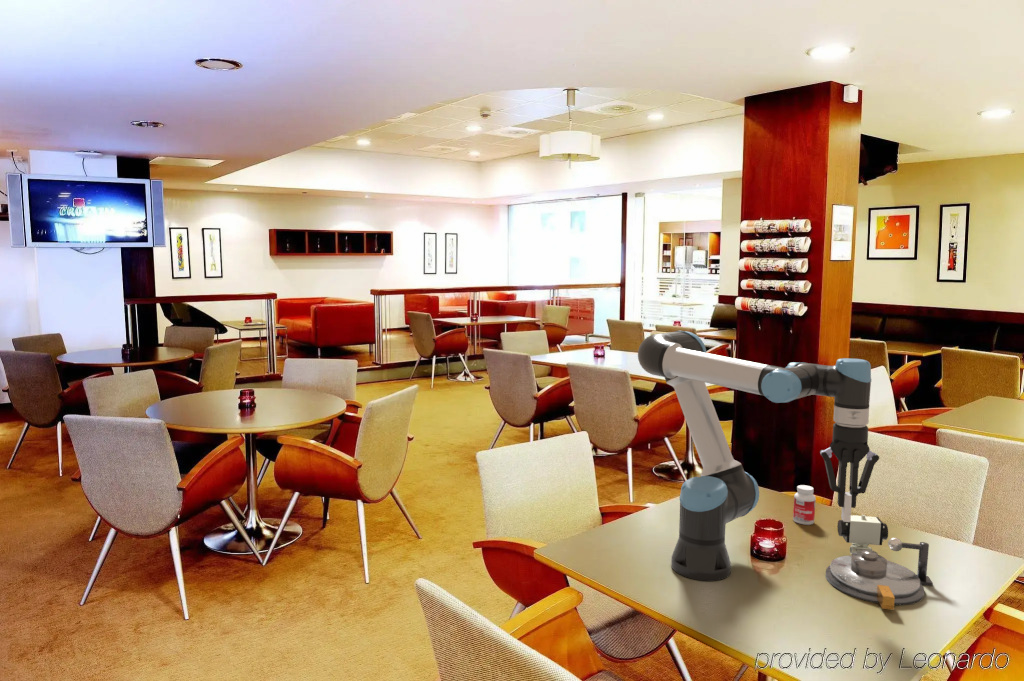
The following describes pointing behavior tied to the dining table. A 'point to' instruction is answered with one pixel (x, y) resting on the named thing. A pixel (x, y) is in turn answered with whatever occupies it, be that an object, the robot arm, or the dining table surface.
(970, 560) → the dining table surface
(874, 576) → the cover
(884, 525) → the pneumatic valve
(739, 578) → the dining table surface
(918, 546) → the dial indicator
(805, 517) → the pill bottle
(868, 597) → the turntable base
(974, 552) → the dining table surface
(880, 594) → the turntable
